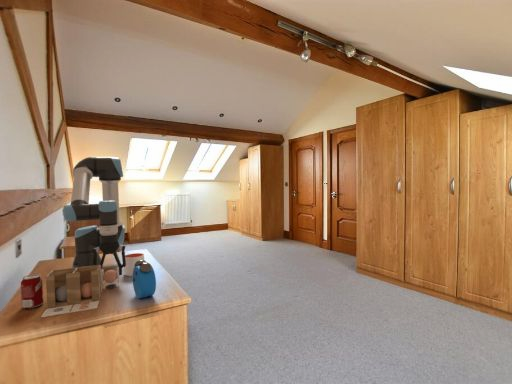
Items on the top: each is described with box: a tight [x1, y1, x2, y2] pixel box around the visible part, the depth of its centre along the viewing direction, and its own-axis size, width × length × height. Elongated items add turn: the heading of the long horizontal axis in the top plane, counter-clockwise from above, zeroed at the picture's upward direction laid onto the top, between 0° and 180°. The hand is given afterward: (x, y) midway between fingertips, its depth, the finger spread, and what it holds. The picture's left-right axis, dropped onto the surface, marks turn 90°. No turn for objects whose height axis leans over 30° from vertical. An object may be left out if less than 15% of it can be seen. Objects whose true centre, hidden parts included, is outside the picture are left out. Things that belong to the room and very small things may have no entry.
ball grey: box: [55, 286, 67, 302], centre depth 117 cm, size 6×6×6 cm
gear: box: [105, 283, 117, 290], centre depth 133 cm, size 4×4×1 cm
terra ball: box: [103, 269, 118, 284], centre depth 134 cm, size 6×6×6 cm
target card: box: [40, 301, 100, 318], centre depth 110 cm, size 7×18×1 cm, turn 113°
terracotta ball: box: [80, 283, 92, 298], centre depth 120 cm, size 6×6×6 cm
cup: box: [123, 252, 145, 277], centre depth 153 cm, size 10×10×10 cm
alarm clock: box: [132, 259, 157, 299], centre depth 121 cm, size 13×6×15 cm, turn 38°
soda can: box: [20, 273, 44, 309], centre depth 114 cm, size 7×7×12 cm
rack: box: [45, 265, 103, 309], centre depth 118 cm, size 9×18×13 cm, turn 113°
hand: (110, 283), depth 134 cm, fingers closed on terra ball, 6 cm apart
